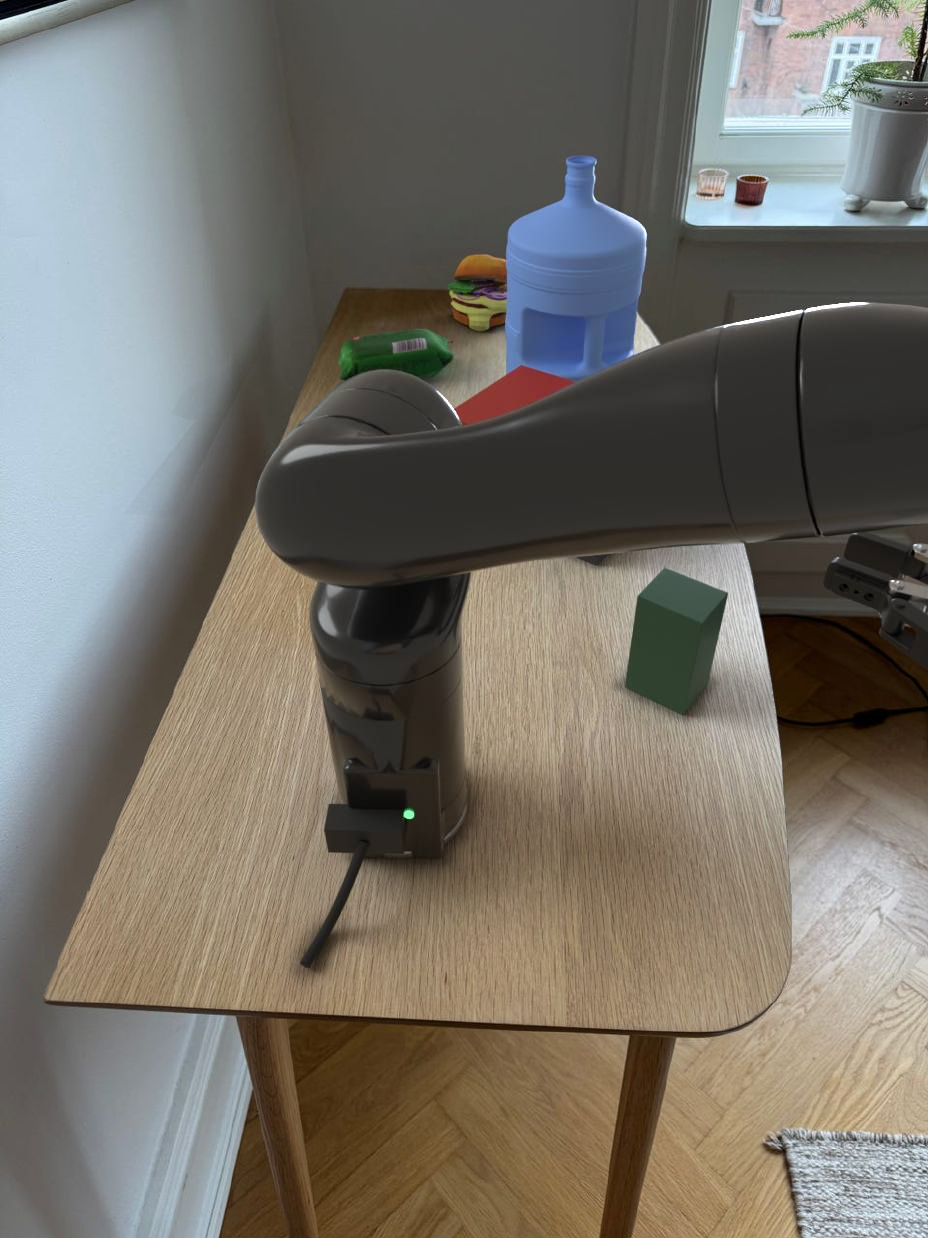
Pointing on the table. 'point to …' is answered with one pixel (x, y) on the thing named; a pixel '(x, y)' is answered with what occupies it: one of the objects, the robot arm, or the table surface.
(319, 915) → the table surface
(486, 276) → the cheeseburger
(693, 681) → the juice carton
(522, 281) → the water jug
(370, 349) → the snack package
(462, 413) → the lunchbox lid
